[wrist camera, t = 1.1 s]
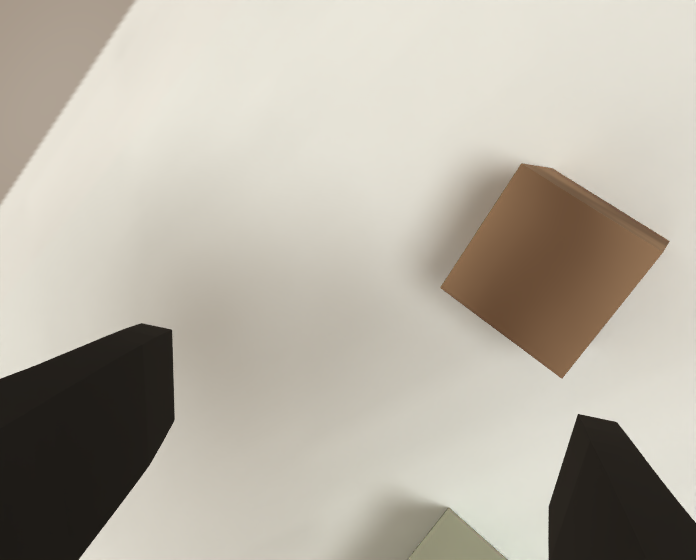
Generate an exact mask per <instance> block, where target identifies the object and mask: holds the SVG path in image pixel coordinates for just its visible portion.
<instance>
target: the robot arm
mask: <svg viewBox="0 0 696 560" xmlns="http://www.w3.org/2000/svg"><path fill="white" fill-rule="evenodd" d="M174 420H175V417H174V382H173V347H172V330H171V329H166V328H161V327H157V326H152V325H147V324H142V323H141V324H138V325H135V326H132V327H129V328H126V329H123V330H121V331H118V332H116V333H113V334H111V335H108V336H106V337H103V338H101V339H98V340H96V341H94V342H91V343H89V344H86V345H84V346H82V347H79V348H77V349H74V350H72V351H70V352H67V353H65V354H62V355H60V356H57V357H55V358H53V359H50V360H48V361H45V362H43V363H41V364H38V365H36V366H33V367H31V368H28V369H25V370H23V371H20V372H17V373H15V374H12V375H9V376H6V377H4V378H1V379H0V560H79V558H80V557H81V556H82V554H83V553H84V552H85V550H86V549H87V548H88V546H89V545H90V544H91V542H92V541H93V540H94V539H95V537H96V536H97V535H98V533H99V532H100V531H101V529H102V528H103V527H104V525H105V524H106V523H107V521H108V520H109V519H110V517H111V516H112V515H113V514H114V512H115V511H116V510H117V508H118V507H119V506H120V504H121V503H122V502H123V500H124V499H125V498H126V496H127V495H128V494H129V492H130V491H131V490H132V488H133V487H134V486H135V484H136V483H137V482H138V480H139V479H140V478H141V476H142V475H143V473H144V472H145V471H146V469H147V468H148V467H149V465H150V463H151V462H152V460H153V458H154V456H155V455H156V453H157V451H158V450H159V448H160V446H161V444H162V442H163V441H164V439H165V437H166V435H167V433H168V431H169V429H170V428H171V426H172V424H173V422H174ZM548 539H549V560H696V523H695V521H694V520H693V519H692V518H691V517H690V515H689V514H688V513H687V512H686V511H685V509H684V508H683V507H682V506H681V504H680V503H679V502H678V501H677V499H676V498H675V497H674V496H673V494H672V493H671V492H670V491H669V489H668V488H667V487H666V486H665V484H664V483H663V482H662V480H661V479H660V478H659V477H658V475H657V474H656V473H655V471H654V470H653V469H652V467H651V466H650V465H649V463H648V462H647V461H646V460H645V458H644V457H643V456H642V454H641V453H640V452H639V450H638V449H637V448H636V446H635V445H634V444H633V442H632V441H631V440H630V438H629V437H628V436H627V434H626V433H625V432H624V431H623V429H622V428H621V427H620V426H619V424H618V423H617V422H614V421H609V420H604V419H599V418H595V417H590V416H585V415H580V414H578V416H577V419H576V422H575V425H574V428H573V432H572V435H571V438H570V441H569V444H568V447H567V451H566V454H565V457H564V460H563V463H562V466H561V470H560V473H559V476H558V479H557V482H556V485H555V489H554V492H553V495H552V498H551V501H550V504H549V537H548Z"/></svg>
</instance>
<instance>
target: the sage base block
mask: <svg viewBox="0 0 696 560" xmlns="http://www.w3.org/2000/svg"><path fill="white" fill-rule="evenodd" d="M408 560H507V559H506V558H505V557H504V556H502V555H501V554H500V553H499V552H498V551H497V550H496V549H495V548H493V547H492V546H491V545H490V544H489V543H488V542H487V541H486V540H484V539H483V538H482V537H481V536H480V535H479V534H478V533H477V532H475V531H474V530H473V529H472V528H471V527H470V526H469V525H468V524H466V523H465V522H464V521H463V520H462V519H461V518H460V517H459V516H457V515H456V514H455V513H454V512H453V511H452V510H451V509H450V508H448V509H447V511H446V512H445V513H444V514H443V516H442V517H441V518H440V519H439V521H438V522H437V523H436V525H435V526H434V527H433V528H432V530H431V531H430V532H429V533H428V535H427V536H426V537H425V538H424V540H423V541H422V542H421V543H420V545H419V546H418V547H417V549H416V550H415V551H414V552H413V554H412V555H411V556H410V557H409V559H408Z"/></svg>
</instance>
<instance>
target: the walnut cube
mask: <svg viewBox="0 0 696 560" xmlns="http://www.w3.org/2000/svg"><path fill="white" fill-rule="evenodd" d="M668 243H669V241H668V240H667V239H665V238H664V237H662V236H660V235H659V234H657V233H656V232H654V231H652V230H651V229H649V228H648V227H646V226H644V225H643V224H641V223H639V222H638V221H636V220H635V219H633V218H631V217H630V216H628V215H627V214H625V213H623V212H622V211H620V210H619V209H617V208H615V207H614V206H612V205H610V204H609V203H607V202H606V201H604V200H602V199H601V198H599V197H598V196H596V195H594V194H593V193H591V192H590V191H588V190H586V189H585V188H583V187H582V186H580V185H578V184H577V183H575V182H573V181H572V180H570V179H569V178H567V177H565V176H564V175H562V174H561V173H559V172H557V171H556V170H554V169H553V168H547V167H540V166H534V165H528V164H521V165H520V167H519V168H518V170H517V171H516V173H515V174H514V176H513V177H512V179H511V180H510V182H509V183H508V185H507V187H506V188H505V190H504V191H503V193H502V194H501V196H500V197H499V199H498V200H497V202H496V203H495V205H494V206H493V208H492V209H491V211H490V212H489V214H488V216H487V217H486V219H485V220H484V222H483V223H482V225H481V226H480V228H479V229H478V231H477V232H476V234H475V235H474V237H473V238H472V240H471V242H470V243H469V245H468V246H467V248H466V249H465V251H464V252H463V254H462V255H461V257H460V258H459V260H458V261H457V263H456V264H455V266H454V267H453V269H452V271H451V272H450V274H449V275H448V277H447V278H446V280H445V281H444V283H443V284H442V286H441V287H440V288H441V289H443V290H444V291H445V292H447V293H448V294H449V295H451V296H452V297H453V298H455V299H456V300H457V301H459V302H460V303H461V304H463V305H464V306H465V307H467V308H468V309H469V310H471V311H472V312H473V313H475V314H476V315H477V316H479V317H480V318H481V319H483V320H484V321H485V322H487V323H488V324H489V325H491V326H492V327H493V328H495V329H496V330H497V331H499V332H500V333H501V334H503V335H504V336H505V337H507V338H508V339H509V340H511V341H512V342H513V343H515V344H516V345H518V346H519V347H520V348H522V349H523V350H524V351H526V352H527V353H528V354H530V355H531V356H532V357H534V358H535V359H536V360H538V361H539V362H540V363H542V364H543V365H544V366H546V367H547V368H548V369H550V370H551V371H552V372H554V373H555V374H556V375H558V376H559V377H560V378H563V377H564V376H565V374H566V373H567V372H568V371H569V369H570V368H571V367H572V366H573V364H574V363H575V362H576V361H577V359H578V358H579V357H580V356H581V354H582V353H583V352H584V351H585V349H586V348H587V347H588V346H589V344H590V343H591V342H592V340H593V339H594V338H595V337H596V335H597V334H598V333H599V332H600V330H601V329H602V328H603V327H604V325H605V324H606V323H607V322H608V320H609V319H610V318H611V317H612V315H613V314H614V313H615V312H616V310H617V309H618V308H619V307H620V305H621V304H622V303H623V302H624V300H625V299H626V298H627V297H628V295H629V294H630V293H631V292H632V290H633V289H634V288H635V287H636V285H637V284H638V283H639V282H640V280H641V279H642V278H643V277H644V275H645V274H646V273H647V272H648V270H649V269H650V268H651V267H652V265H653V264H654V263H655V262H656V260H657V259H658V258H659V257H660V255H661V254H662V253H663V251H664V250H665V248H666V246H667V245H668Z"/></svg>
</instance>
